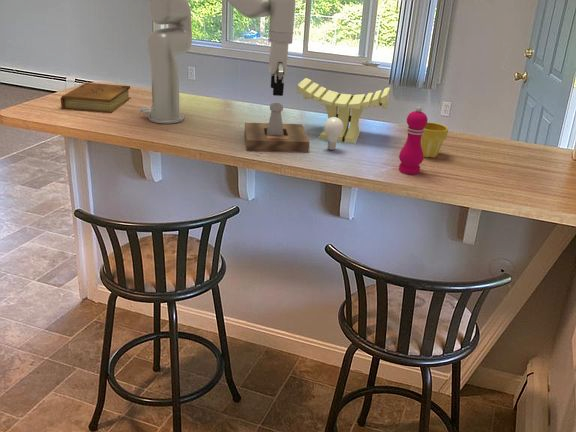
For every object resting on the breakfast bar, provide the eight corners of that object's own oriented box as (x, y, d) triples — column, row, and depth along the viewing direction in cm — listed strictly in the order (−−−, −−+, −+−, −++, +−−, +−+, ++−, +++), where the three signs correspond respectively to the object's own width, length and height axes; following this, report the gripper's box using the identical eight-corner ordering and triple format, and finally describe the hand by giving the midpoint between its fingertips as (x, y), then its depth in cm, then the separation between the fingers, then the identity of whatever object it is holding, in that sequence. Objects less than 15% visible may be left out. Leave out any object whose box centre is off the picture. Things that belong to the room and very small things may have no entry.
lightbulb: (343, 148, 191) (346, 116, 186) (338, 154, 185) (341, 121, 181) (324, 145, 193) (327, 113, 188) (319, 151, 187) (322, 118, 183)
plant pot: (442, 151, 195) (447, 123, 191) (444, 161, 186) (449, 132, 182) (411, 148, 196) (415, 120, 192) (411, 157, 187) (416, 128, 183)
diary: (85, 96, 234) (84, 82, 232) (130, 100, 234) (130, 86, 231) (61, 110, 214) (60, 95, 211) (111, 114, 213) (110, 98, 210)
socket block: (246, 150, 183) (246, 139, 182) (244, 132, 201) (244, 121, 200) (308, 152, 185) (309, 141, 184) (301, 133, 203) (301, 123, 202)
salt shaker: (284, 140, 196) (286, 102, 190) (282, 145, 191) (284, 106, 185) (267, 138, 196) (269, 100, 191) (264, 143, 191) (266, 104, 186)
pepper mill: (394, 166, 178) (403, 102, 170) (417, 167, 179) (427, 103, 170) (400, 174, 172) (410, 109, 163) (423, 175, 172) (435, 110, 164)
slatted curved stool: (384, 134, 209) (390, 85, 202) (379, 147, 195) (386, 95, 188) (303, 124, 215) (307, 76, 207) (294, 135, 201) (297, 84, 193)
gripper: (266, 32, 186) (263, 84, 194) (270, 40, 171) (266, 97, 178) (289, 33, 187) (285, 86, 195) (295, 42, 172) (290, 99, 179)
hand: (276, 91), depth 186 cm, fingers open, 9 cm apart
